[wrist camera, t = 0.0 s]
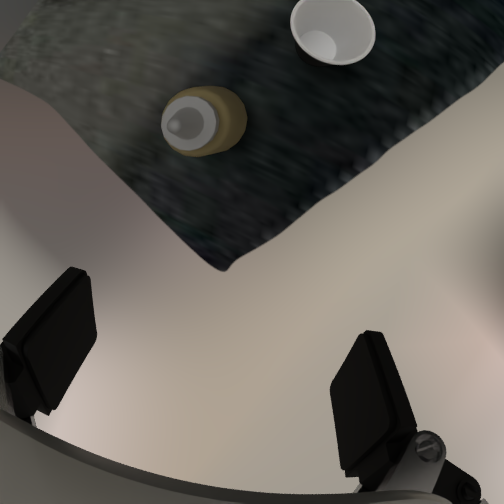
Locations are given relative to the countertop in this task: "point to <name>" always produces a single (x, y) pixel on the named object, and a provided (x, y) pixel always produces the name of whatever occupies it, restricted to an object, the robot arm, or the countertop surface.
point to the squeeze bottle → (203, 120)
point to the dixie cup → (332, 31)
